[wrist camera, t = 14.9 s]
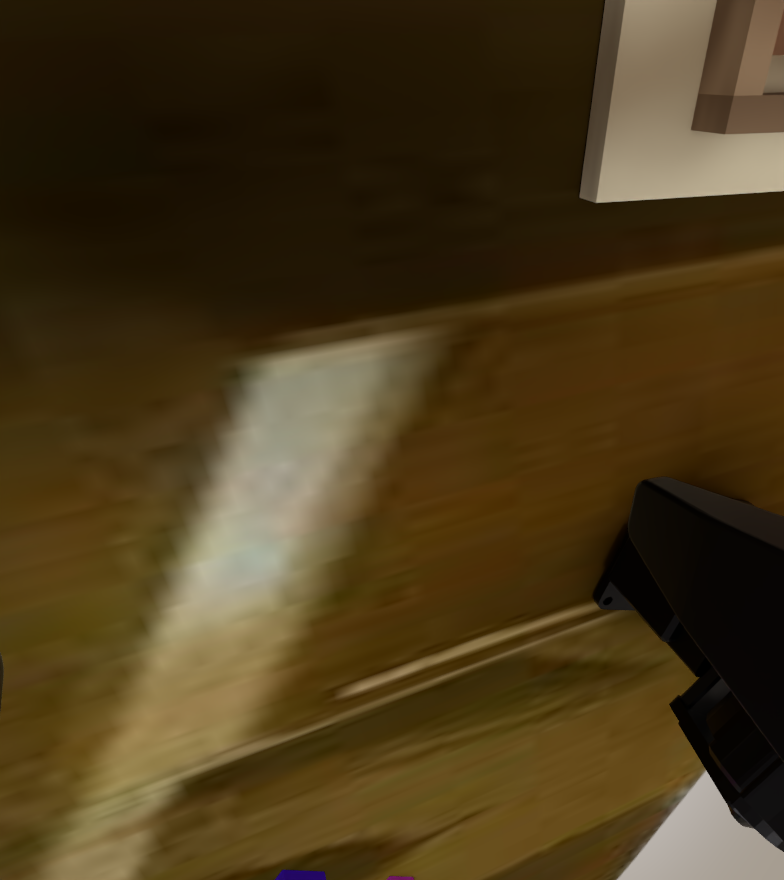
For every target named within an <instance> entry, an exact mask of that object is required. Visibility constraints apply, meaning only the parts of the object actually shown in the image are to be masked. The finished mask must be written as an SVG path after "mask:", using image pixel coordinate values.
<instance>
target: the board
mask: <svg viewBox="0 0 784 880" xmlns="http://www.w3.org/2000/svg"><path fill="white" fill-rule="evenodd" d="M783 10H784V0H605V7H604V15H603V22H602V30H601V37H600V45H599V53H598V60H597V68H596V75H595V83H594V90H593V98H592V105H591V113H590V121H589V128H588V136H587V143H586V151H585V158H584V166H583V174H582V181H581V189H580V196H579V198H582V199H585V200H588V201H592V202H595V203H603V202H619V201H634V200H650V199H666V198H681V197H697V196H713V195H728V194H744V193H760V192H775V191H784V55H772V54H773V50H774V46H775V42H776V38H777V34H778V30H779V26H780V22H781V18H782V14H783Z"/></svg>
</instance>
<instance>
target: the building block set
mask: <svg viewBox="0 0 784 880" xmlns="http://www.w3.org/2000/svg"><path fill="white" fill-rule="evenodd" d="M275 880H326V877H325V872H318V871H295V870H282V871H281V873H280V874H279V875H278V877H277V878H276V879H275ZM387 880H414V879H413V877H399V876H389V878H388V879H387Z"/></svg>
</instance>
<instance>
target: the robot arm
mask: <svg viewBox="0 0 784 880" xmlns="http://www.w3.org/2000/svg"><path fill="white" fill-rule="evenodd" d="M594 601H595V602H596V604H597V605H598V606H599V607H600V608H601V609H611V610H636V612H637V613H638V614H639V615H640V616H641V617H642V619H643V620H644V621H645V622H646V623H647V624H648V625H649V627H650V628H651V629H652V630H653V631H654V632H655V633H656V635H657V636H658V637H659V638H660V639H661V640H662V641H664V642H666V643H667V644H668V645H669V646H670V647H671V649H672V650H673V651H674V652H675V653H676V654H677V655H678V657H679V658H680V659H681V660H682V661H683V662H684V663H685V665H686V666H687V667H688V668H689V669H690V670H691V671H692V673H693V674H694V675H695V676H696V677H700V678H699V679H698V680H697V681H696V682H695V683H694V684H693V685H692V686H691V687H690V688H689V689H688V690H687V691H686V692H685V693H684V694H682V695H681V696H679V695H678V696H677V697H676V698H675V699H674V700H673V701H672V702H671V703H670V704H669V705H670V707H671V709H672V710H673V712H674V714H675V715H676V717H677V719H678V720H679V722H678V724H679V726H680V727H681V729H682V731H683V732H684V734H685V736H686V737H687V739H688V741H689V742H690V744H691V745H692V747H693V749H694V750H695V752H696V754H697V755H698V757H699V759H700V760H701V762H702V764H703V765H704V767H705V769H706V770H707V772H708V774H709V775H710V777H711V778H712V780H713V782H714V783H715V785H716V787H717V788H718V790H719V792H720V793H721V795H722V797H723V798H724V800H725V801H726V803H727V805H728V807H729V809H730V812H731V814H732V815H733V817H734V818H735V819H736V821H738V823H740V824H741V825H742V826H745V827H749V828H754V829H756V830H757V831H758V832H759V833H760V834H761V835H762V836H763V837H764V838H765V839H767V840H768V841H769V842H770V843H772V844H773V845H774V846H775V847H777V848H779V849H780V850H782V851H783V852H784V517H783V516H780V515H777V514H774V513H772V512H769V511H766V510H763V509H760V508H757V507H755V506H754V505H752V504H751V503H750V502H748V501H741V500H734V499H731V498H728V497H725V496H722V495H719V494H716V493H713V492H710V491H707V490H704V489H701V488H698V487H696V486H693V485H690V484H687V483H684V482H681V481H678V480H675V479H672V478H669V477H657V478H651V479H646V480H643V481H641V482H639V484H638V485H637V486H636V489H635V493H634V498H633V502H632V507H631V511H630V516H629V521H628V534H627V536H626V538H625V540H624V541H623V543H622V545H621V547H620V549H619V551H618V553H617V555H616V556H615V558H614V560H613V562H612V564H611V566H610V568H609V570H608V571H607V573H606V575H605V577H604V579H603V581H602V583H601V585H600V586H599V588H598V590H597V592H596V594H595V596H594ZM3 677H4V667H3V660H2V656H1V653H0V710H1V699H2V688H3Z"/></svg>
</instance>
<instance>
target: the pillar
mask: <svg viewBox="0 0 784 880" xmlns="http://www.w3.org/2000/svg"><path fill="white" fill-rule="evenodd" d="M772 55H784V10H783V14H782V18H781V22H780V26H779V30H778V34H777V38H776V42H775V46H774V50H773V54H772Z"/></svg>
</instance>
